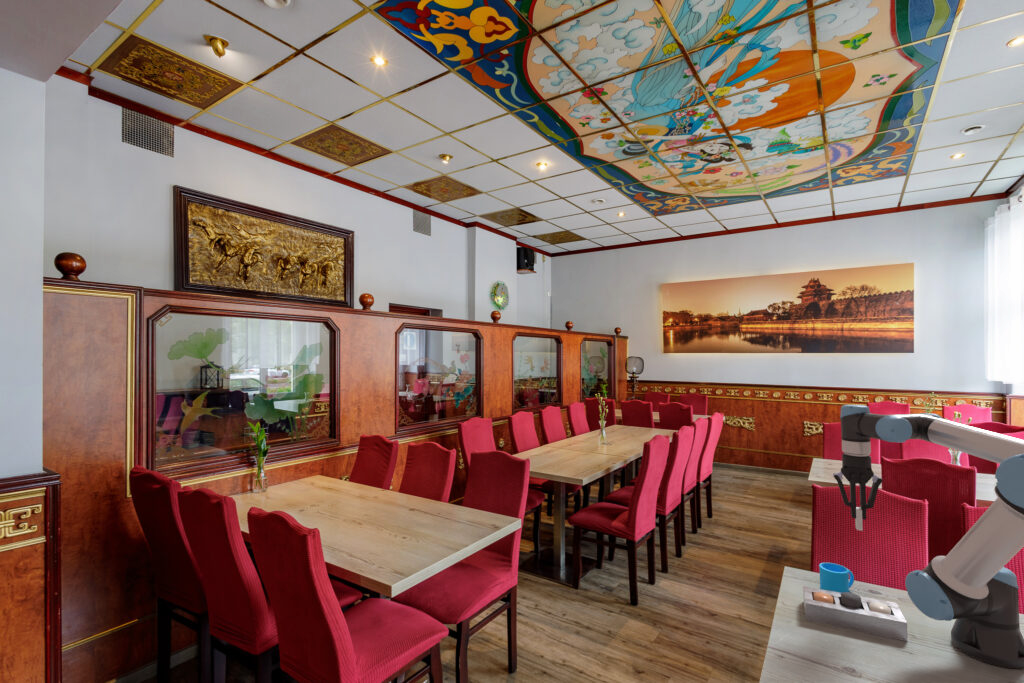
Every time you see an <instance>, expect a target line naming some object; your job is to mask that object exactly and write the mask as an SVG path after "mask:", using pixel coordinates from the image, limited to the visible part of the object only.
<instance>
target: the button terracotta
mask: <svg viewBox="0 0 1024 683" xmlns="http://www.w3.org/2000/svg"><path fill="white" fill-rule="evenodd" d="M814 600H816V601H821V602H826V603H831V604H833V597H832V596H831V595H829V594H826V593H822V592H815V593H814Z"/></svg>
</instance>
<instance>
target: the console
mask: <svg viewBox="0 0 1024 683" xmlns="http://www.w3.org/2000/svg"><path fill="white" fill-rule="evenodd" d="M802 592H803V593H802V594H803V596H802V597H803V599H802V600H803V607H804V613H805V614H804V615H805V620H806V621H810V622H815V623H819V624H824V625H828V626H832V627H833V626H834V627H839V628H843V629H848V630H851V631H858V632H863V633H866V634H867V633H868V634H871V635H872V634H873V635H876V636H880V637H886V638H891V639H895V640H900V641H905V642H909V640H908V622H907V620H906V618H905V616H904V614H903V613H902V611H901V609H900V606H899V605H898V603H897V602H894V601H887V600H883V599H882V600H881V599H877V598H876V599H875V598H871V597H864V596H861V595H859V596H860V597H861V609H858V608H852V607H847V606H842V605H841V593H839V592H833V591H828V590H822V589H820V588H816V587H811V586H805V585H803V586H802ZM815 592H822V593H826V594H829V595H831V596H832V597H833V604H831V603H826V602H821V601H816V600H814V593H815ZM872 602H876V603H881V604H884V605H887V606H888V607H890V608H891V615H889V614H884V613H878V612H873V611H870V608H869V604H870V603H872Z"/></svg>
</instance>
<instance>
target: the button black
mask: <svg viewBox="0 0 1024 683" xmlns="http://www.w3.org/2000/svg"><path fill="white" fill-rule="evenodd" d="M860 596H861V595H858V594H856V593H853V592H850V591H849V592H842V593H841V605H842V606H847V607H852V608H858V609H861V597H862V596H861V597H860Z"/></svg>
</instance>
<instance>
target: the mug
mask: <svg viewBox="0 0 1024 683" xmlns="http://www.w3.org/2000/svg"><path fill="white" fill-rule="evenodd" d="M818 567H819V589H822V590H828V591H833V592H839V593H842V592H849V593H850V588H851V587H852V586H853V585H854V583H855V575H854V574H853V572H852V571H851V570H850V569H848V568H847V567H845V566H844V565H842V564H838V563H835V562H834V563H833V562H821V563H819V565H818Z"/></svg>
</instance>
